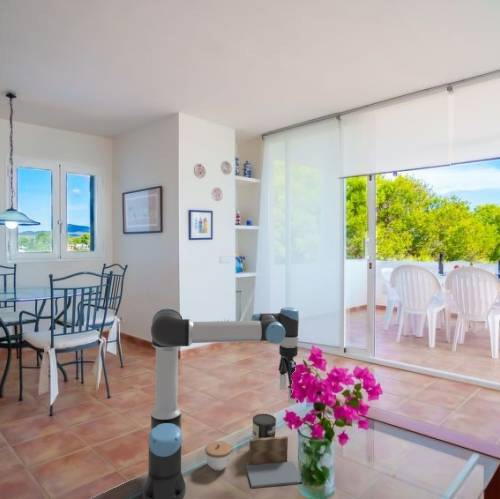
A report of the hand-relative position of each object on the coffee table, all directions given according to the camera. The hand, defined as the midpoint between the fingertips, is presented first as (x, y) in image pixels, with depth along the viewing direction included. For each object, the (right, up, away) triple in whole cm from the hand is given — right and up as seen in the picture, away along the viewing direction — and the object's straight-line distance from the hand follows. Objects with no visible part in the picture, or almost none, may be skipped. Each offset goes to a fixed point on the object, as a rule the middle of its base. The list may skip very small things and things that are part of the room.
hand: (287, 395), depth 166 cm
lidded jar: (-29, -28, -3) cm, 40 cm away
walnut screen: (-8, -28, +1) cm, 29 cm away
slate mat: (-6, -28, -8) cm, 30 cm away
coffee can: (-10, -28, +10) cm, 31 cm away
